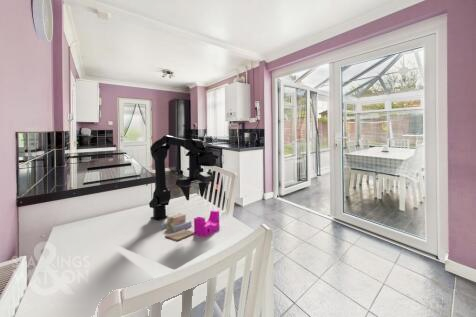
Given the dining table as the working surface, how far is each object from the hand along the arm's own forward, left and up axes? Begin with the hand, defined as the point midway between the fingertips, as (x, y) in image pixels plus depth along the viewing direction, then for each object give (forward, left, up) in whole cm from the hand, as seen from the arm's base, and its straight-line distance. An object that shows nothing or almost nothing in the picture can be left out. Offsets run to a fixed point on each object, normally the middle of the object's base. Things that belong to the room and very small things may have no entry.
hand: (195, 198), depth 100 cm
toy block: (+7, +2, -15) cm, 17 cm away
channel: (-9, -3, -15) cm, 18 cm away
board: (0, -9, -15) cm, 17 cm away
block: (-9, -3, -15) cm, 18 cm away
